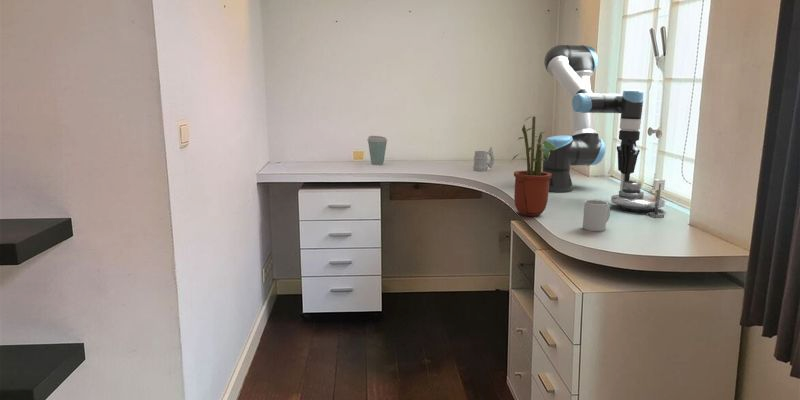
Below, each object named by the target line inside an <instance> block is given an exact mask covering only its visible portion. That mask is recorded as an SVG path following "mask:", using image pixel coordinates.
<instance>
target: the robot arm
mask: <svg viewBox="0 0 800 400" xmlns="http://www.w3.org/2000/svg"><path fill="white" fill-rule="evenodd" d="M596 51H597V50H595V48H593V47H592V46H589V45H583V44H580V45H576V44H573V45H572V44H558V45H555V46H552V47H551V48H549V50H548V51H547V52H546V54H545V55H544V61H543V64H544V68H545V70H546V72H548V74H549V75H550V76H553V77H555V79H556V80H557V81H558V82H559V84H560V85H561V87H562V88H564V90H565V92H566V93H568V96H570V97H571V109H572V111H571V112H572V122H573V133H572V134H571V135H553V136H549V137H547V138H546V139H544V141H547V142H551V143H552V144H553V145H554V146H555V147H556V148H558V149H556V150H548V151H549V152H550V154H549V157H548V160H547V157H546V155H545V154H544V152H542V153H543V154H542V155H543V157H542V159H545V160H542V169H541V172H547V173H550V174H552V176H551V179H549V192H551V193H553V192H554V193H569V192H572V191H573V183H572V176H571V173H570V171H571V170H570V169H571V166H588V167H589V166H597V165H598V164H600V163H601V162H602V160H603V158H604V157H605V154H606V143H605V141H604V140H603V139H602V138H600V137H599V133H598V132H597V131H596V130H595V122H594V114H595V113H597V114H620V118H619V120H620V121H619V129H620V130H619V132H618V140H620V145H619V146H616V150H617V151H616V152H617V170H618V171H620V173H621V174H620V185H619V186H620V188H619V191H620V190H623V182H624V181H630V178H631V177H630V176H631V174H634V173H635V169H636V164H637V161H638V156H639V154H640V151H641V150H640V149H638V148H637V141H640V134H641V132H640V129H641V124H642V114H643V105H644V91H643V90H642V89H623V90H622V94H620V93H594V92H593V91H592V88H591V87H592V86H591V77H592V76H593V75H594V71H596V69H597V67H598V54H597V52H596ZM543 148H546V147H545V146H544V145H543Z"/></svg>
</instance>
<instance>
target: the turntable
mask: <svg viewBox="0 0 800 400" xmlns="http://www.w3.org/2000/svg"><path fill="white" fill-rule="evenodd" d="M654 191H655V193H654V196H650V195H644V196H643V198H642V199H630V198H623V197H620V196H619V194H614V195H611V197H610V201H611V203H613V204H616V205H619V206H622V205H623V206H628V207H636V208H652V209H655V202H656V193H657V190H654ZM661 196H662V190H660V198H659V207H658V209H659V208H663V207H665V202H666V201H665V199H663V198H661Z"/></svg>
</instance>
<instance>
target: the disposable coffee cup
mask: <svg viewBox="0 0 800 400" xmlns="http://www.w3.org/2000/svg"><path fill="white" fill-rule="evenodd" d="M366 141H367V144H368V150H369V157H370V163H371V165H374V166H380V165H384V163H385V157H386V151H387V150H386V149H387V142H388V139H387V138H386V137H385V136H381V135H369V136H368V138H367V139H366Z"/></svg>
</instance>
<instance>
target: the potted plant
mask: <svg viewBox="0 0 800 400" xmlns="http://www.w3.org/2000/svg"><path fill="white" fill-rule="evenodd" d="M530 118H532V121H531V123H532V124H531V127H530V128H526V126H525V124H523V126H522V129H521V132H522V134H523V137H522V136H521V137H518V139H517V140H522V139H524V144H525V154H526V165H527V166H526V169H527V170H516V171H513V177H514V179H515V181H514V196H513V197H514V206H515V208H516V210H517V212H518V213H519V214H521V215H522V216H525V217H538V216H540V215H541V214H543V212H544V211H545V210H546V208H547V204H548V200H549V192H550V191H549V179H551V176H552V174H550V173H547V172H542V169H543V160H545V159H543V157H542V155H543V154H542V153H544V154H545V155H546V157H547V160H548V157H549V154H550V152H549V151H548V150H556V149H558V148H556V147H555V146H554V145H553V144H552V143H551V142H547V141H545V140H542V138H543V134H544V133H546V131H540V133H539V132H538V133H539V136H538V139H537V143H536V150H535V141H536V116H535V115H533V116H532V115H531V116H529V117H527V118H526V119H525V120H524V123H525V121H527V120H528V119H530ZM530 130H531V142H530V143H531V146H530V147H529V145H530V144H529V139H528V133H527V132H528V131H530ZM542 146H543V147H542ZM544 146H545V147H546V148H544ZM535 151H536V152H535ZM520 154H522V153H520ZM520 154H516V155H515V156H514V157H513V158H512V159H511V161H510V163H509V164H511V163H512V161H513V160H514V159H515V158H516V157H517V156H519V155H520Z"/></svg>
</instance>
